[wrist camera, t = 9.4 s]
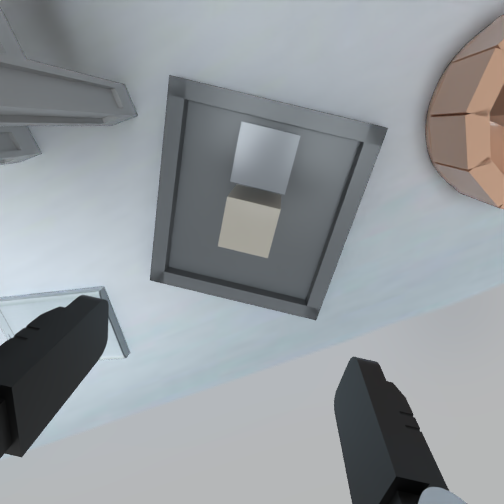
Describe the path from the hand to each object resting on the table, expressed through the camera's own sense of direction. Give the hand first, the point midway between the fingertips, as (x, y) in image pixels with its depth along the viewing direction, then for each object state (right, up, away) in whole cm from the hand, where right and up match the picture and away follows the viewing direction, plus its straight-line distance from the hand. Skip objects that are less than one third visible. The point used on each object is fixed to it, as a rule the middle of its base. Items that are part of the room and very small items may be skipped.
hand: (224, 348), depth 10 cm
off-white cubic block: (+1, +6, +15) cm, 16 cm away
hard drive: (-19, -4, +22) cm, 30 cm away
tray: (+1, +7, +15) cm, 16 cm away
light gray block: (+2, +11, +13) cm, 17 cm away
